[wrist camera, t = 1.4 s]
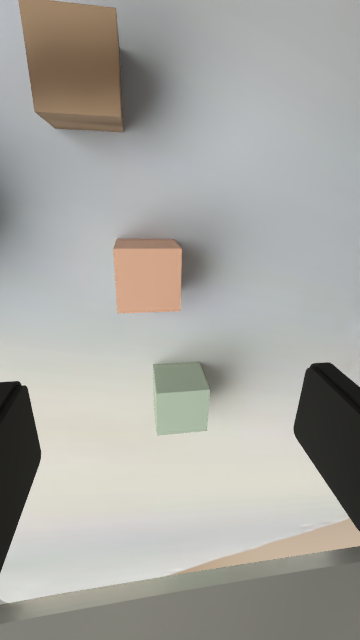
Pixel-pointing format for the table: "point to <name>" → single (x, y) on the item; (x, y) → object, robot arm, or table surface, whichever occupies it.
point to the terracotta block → (147, 275)
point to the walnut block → (73, 64)
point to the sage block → (180, 398)
